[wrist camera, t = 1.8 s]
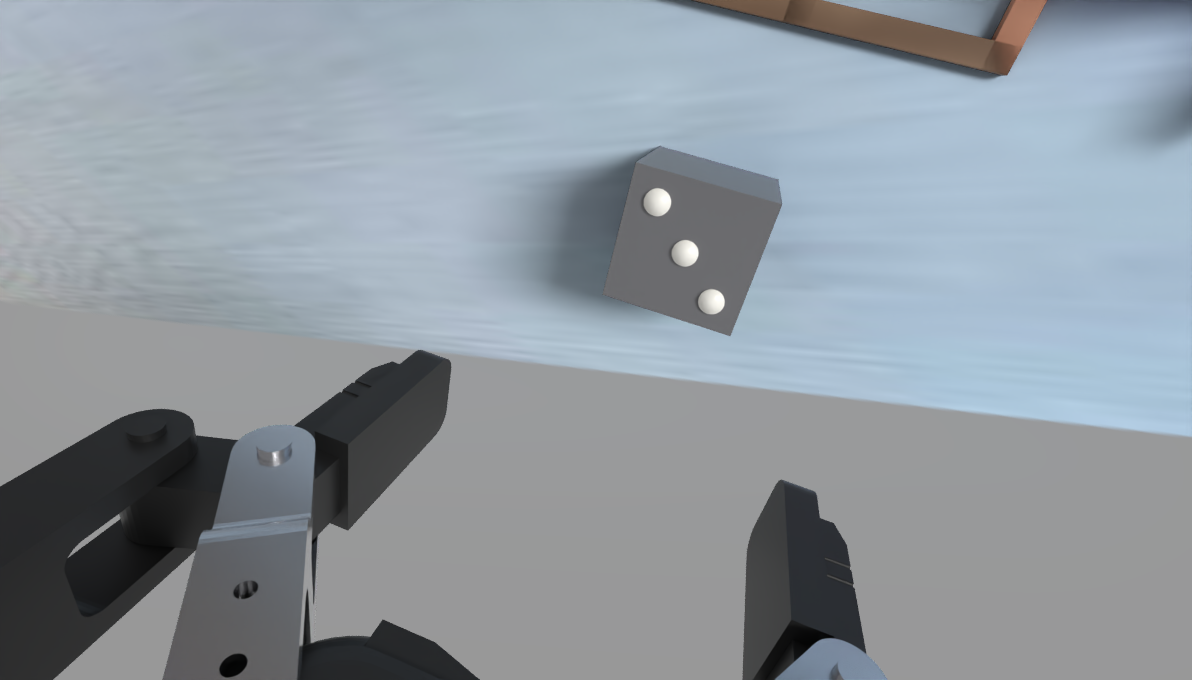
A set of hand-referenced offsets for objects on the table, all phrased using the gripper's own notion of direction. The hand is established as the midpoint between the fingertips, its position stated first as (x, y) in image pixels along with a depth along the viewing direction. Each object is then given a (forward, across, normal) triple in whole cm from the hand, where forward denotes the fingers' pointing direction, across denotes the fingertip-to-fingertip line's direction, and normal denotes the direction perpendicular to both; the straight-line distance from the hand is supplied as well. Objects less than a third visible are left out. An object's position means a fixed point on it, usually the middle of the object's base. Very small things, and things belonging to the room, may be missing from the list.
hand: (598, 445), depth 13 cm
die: (+23, 0, 0) cm, 23 cm away
